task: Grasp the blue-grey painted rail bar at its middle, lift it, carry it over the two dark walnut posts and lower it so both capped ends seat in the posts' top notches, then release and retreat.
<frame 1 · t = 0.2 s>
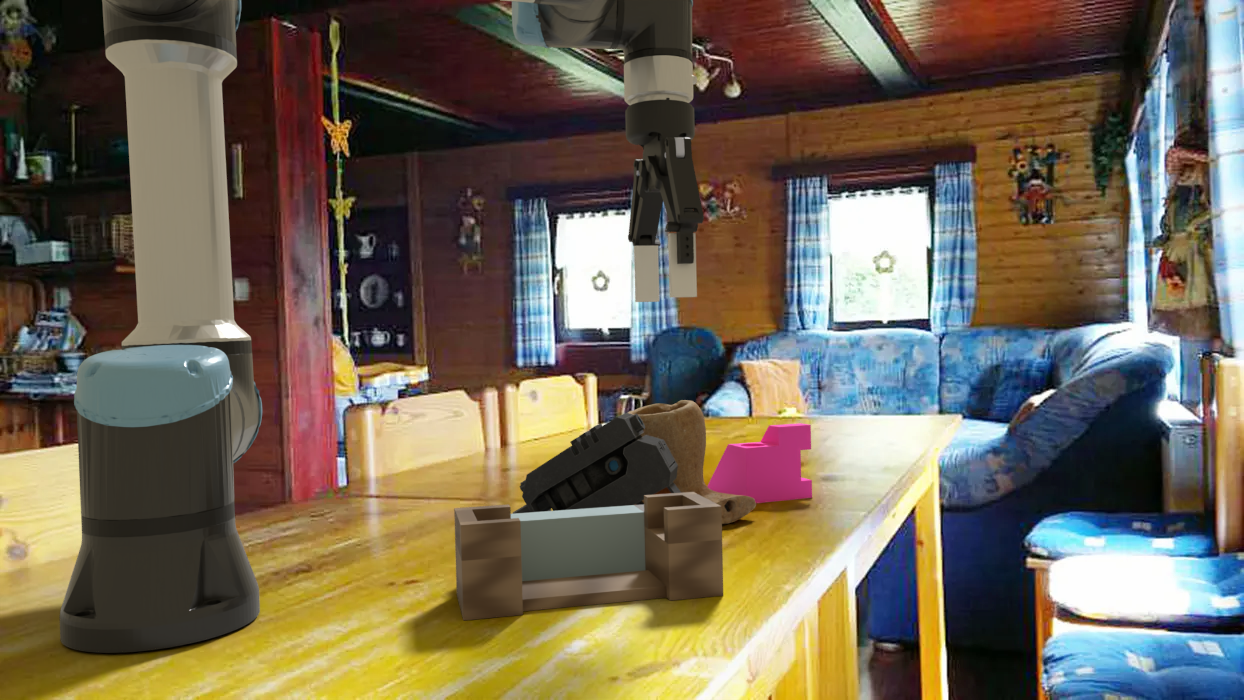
hand: (664, 300, 103), 27 cm above the table, fingers open, 13 cm apart
posts: (588, 595, 85), on the table
brown boot: (681, 522, 118), on the table
bracket: (758, 496, 135), on the table
rail: (571, 573, 93), on the table
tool: (602, 543, 107), on the table
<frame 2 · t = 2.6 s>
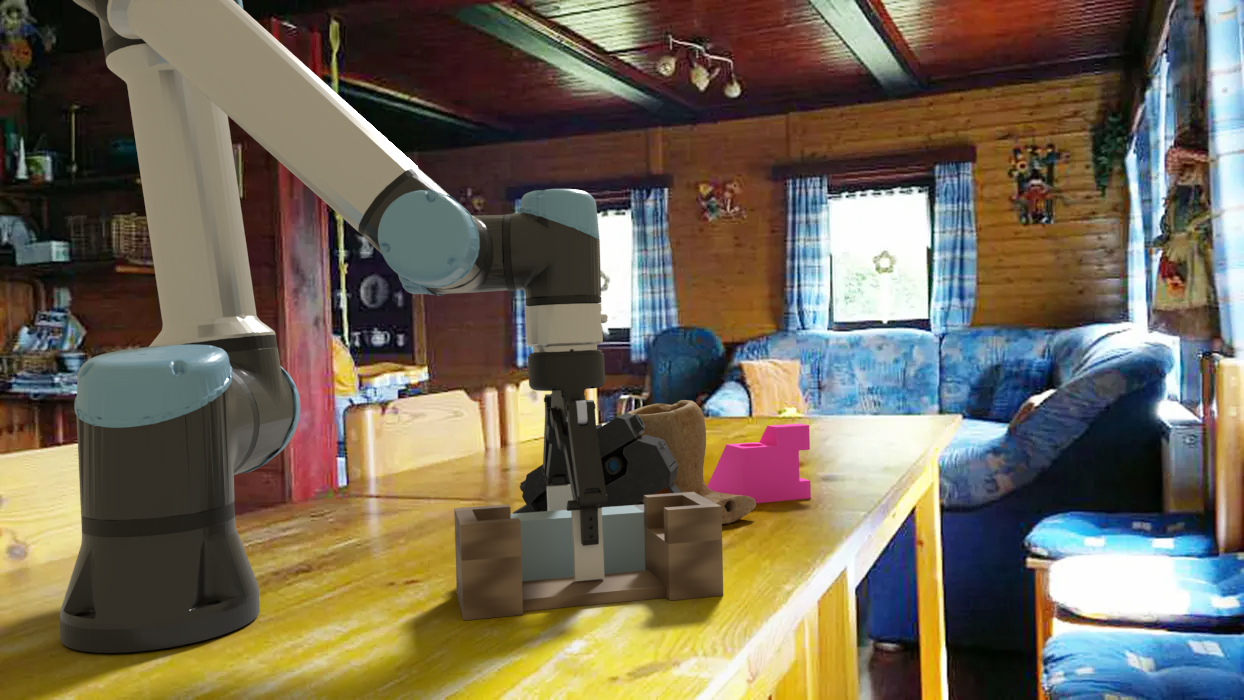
hand: (574, 563, 93), 1 cm above the table, fingers open, 13 cm apart
nothing on the table moved.
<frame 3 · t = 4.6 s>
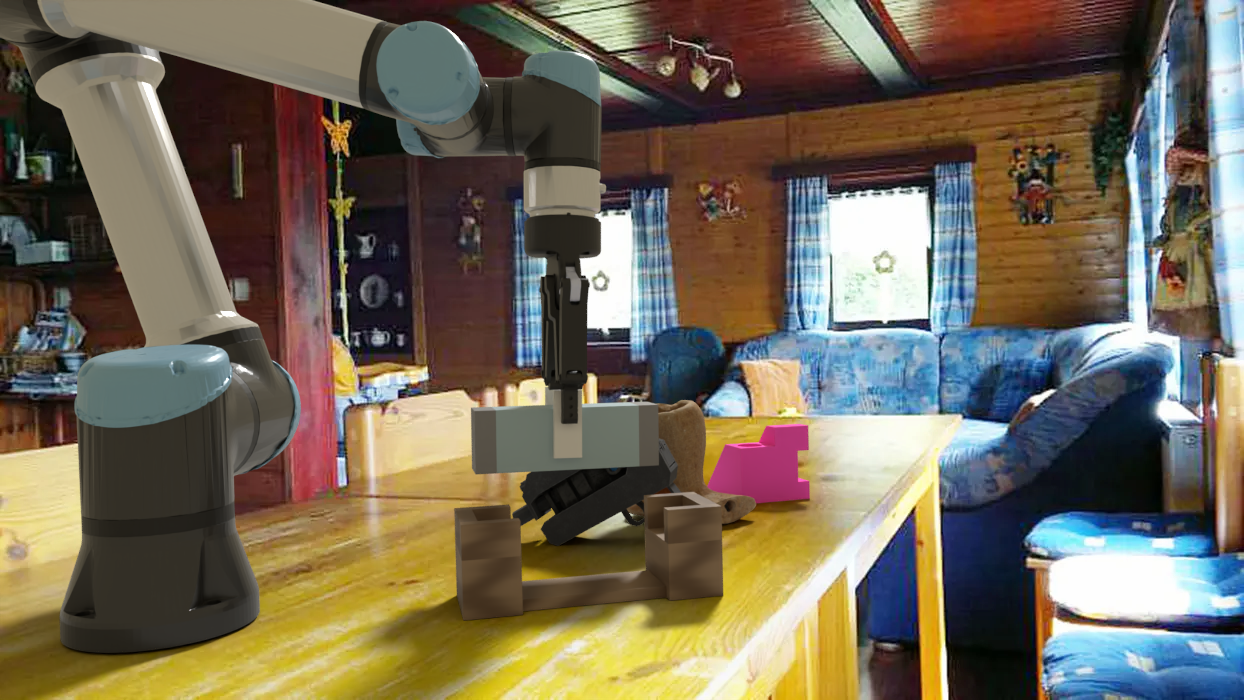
hand: (563, 453, 93), 12 cm above the table, fingers closed on rail, 4 cm apart
rail: (565, 466, 93), point 11 cm above the table, touching gripper
everything else where it was.
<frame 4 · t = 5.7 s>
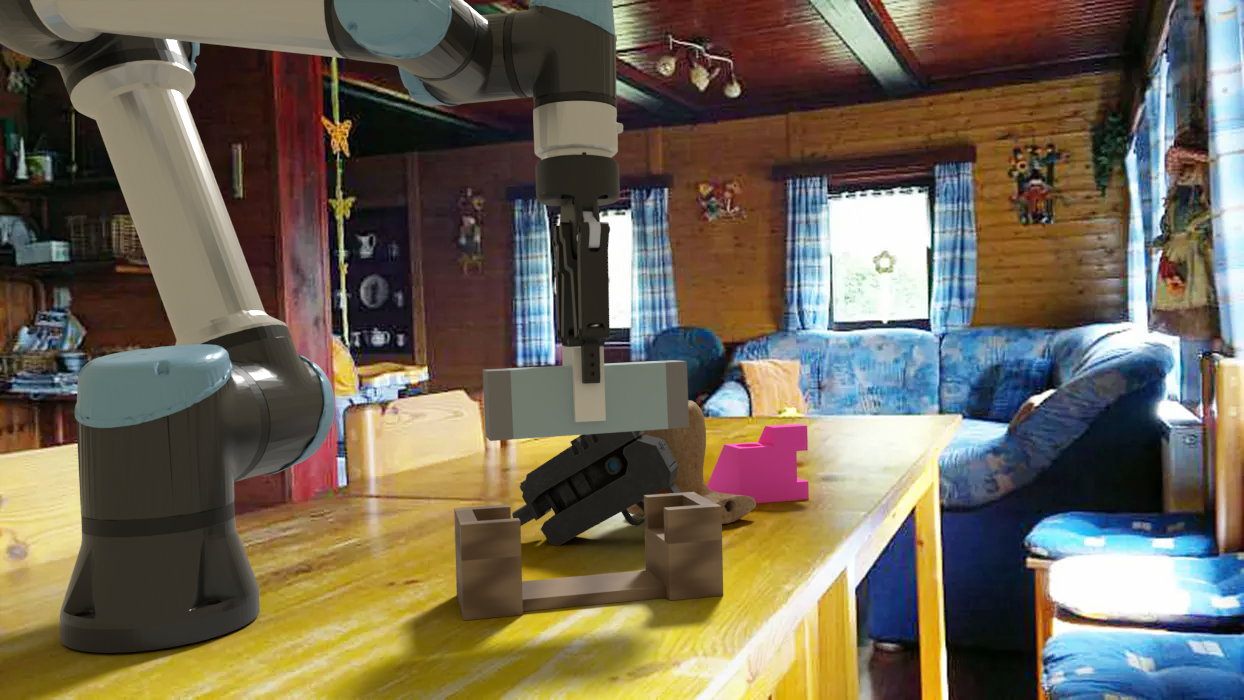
hand: (584, 418, 85), 16 cm above the table, fingers closed on rail, 4 cm apart
rail: (587, 431, 85), point 15 cm above the table, touching gripper
everything else where it was.
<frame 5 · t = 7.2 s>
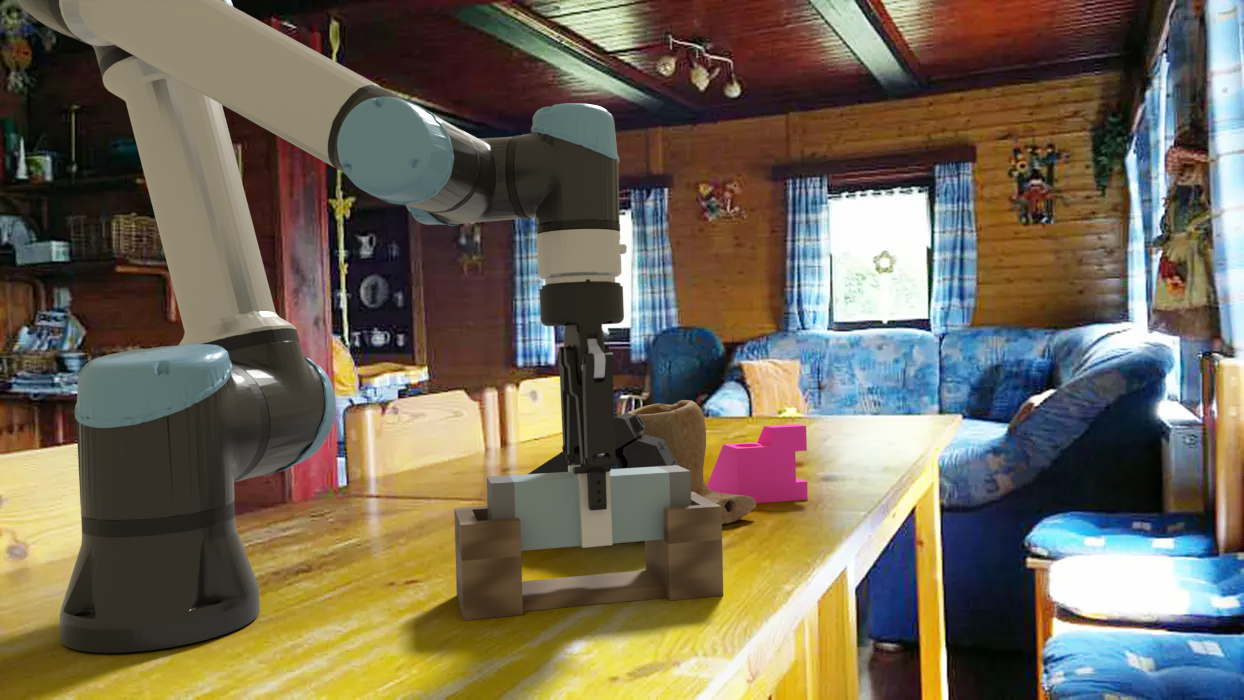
hand: (591, 539, 85), 5 cm above the table, fingers closed on rail, 4 cm apart
rail: (590, 540, 85), point 5 cm above the table, touching gripper, posts
everything else where it was.
when the fingers open (4 cm above the table, at t = 7.5 s): rail stays where it is, resting on posts.
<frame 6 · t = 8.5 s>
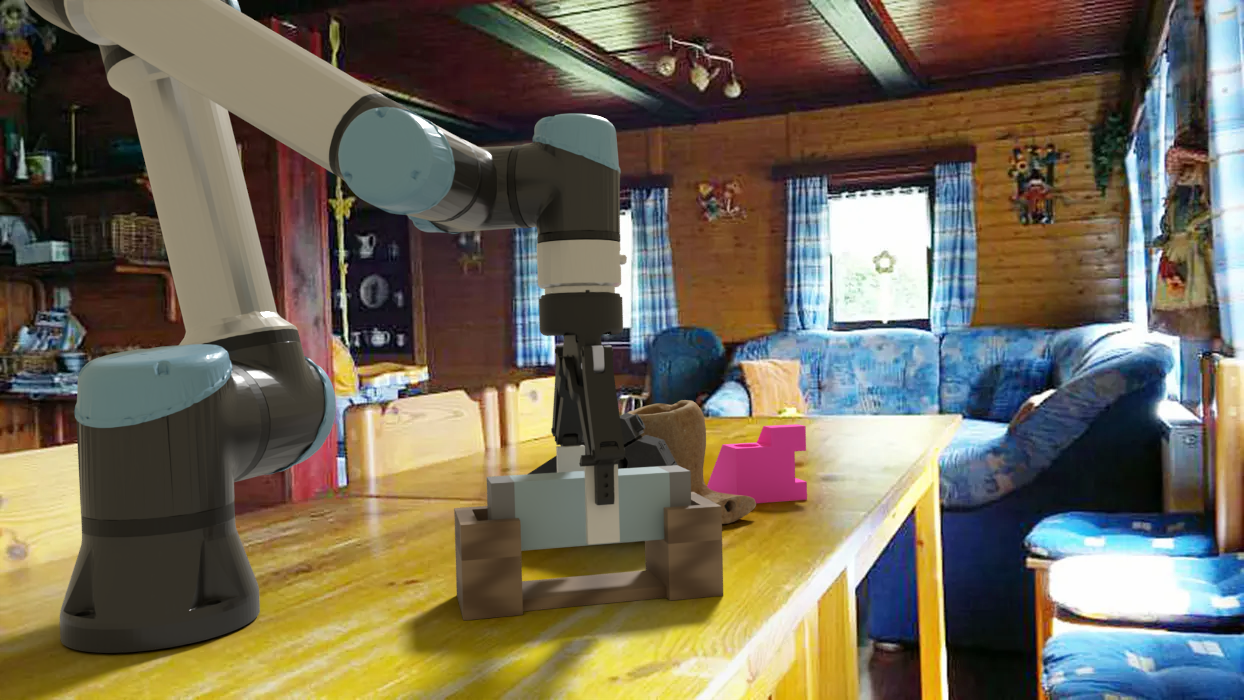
hand: (586, 526, 85), 6 cm above the table, fingers open, 13 cm apart
rail: (590, 540, 85), point 5 cm above the table, touching posts
everything else where it was.
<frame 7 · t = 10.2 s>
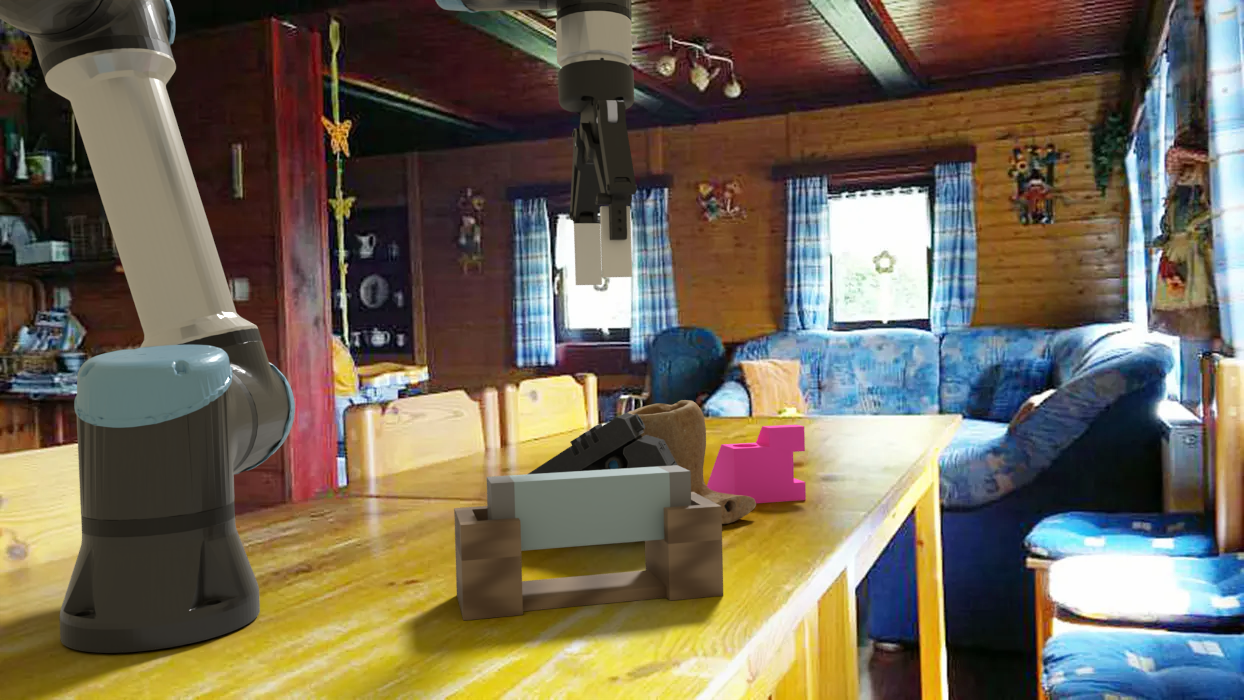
hand: (601, 281, 94), 29 cm above the table, fingers open, 13 cm apart
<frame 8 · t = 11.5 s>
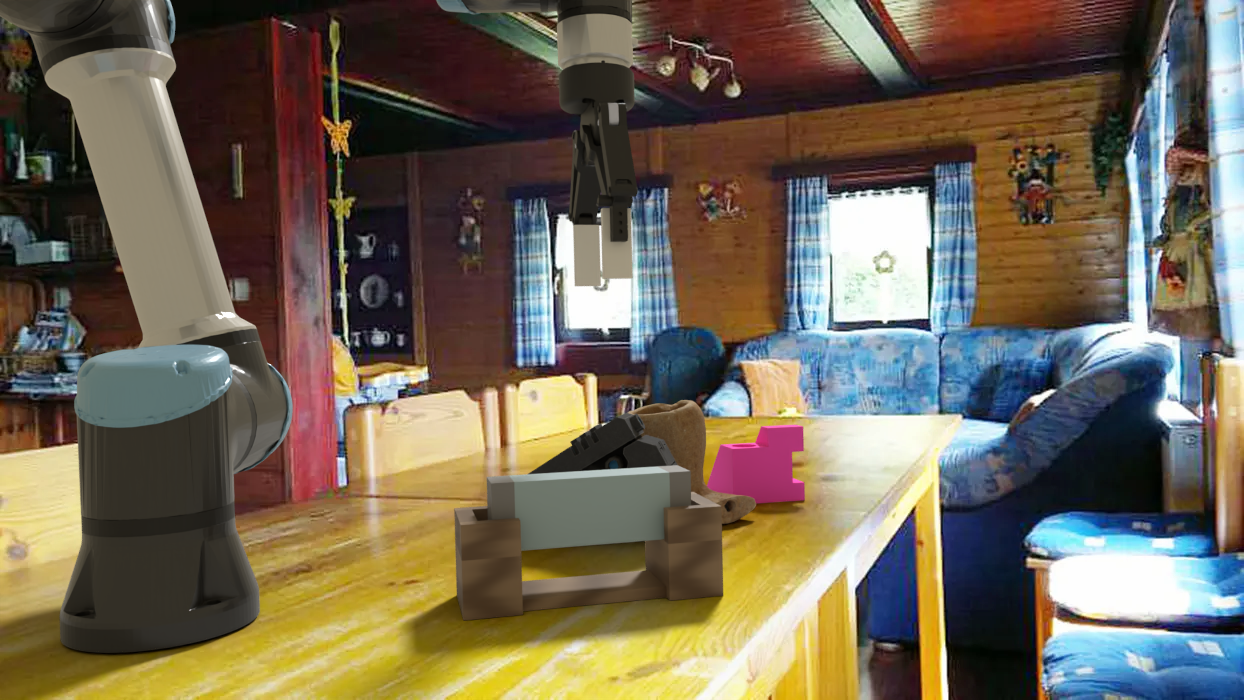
hand: (601, 283, 95), 29 cm above the table, fingers open, 13 cm apart
at the end: rail 0.3 cm off-centre on the posts, point 5.0 cm above the posts's base; rail tilted 0°; the gripper is holding nothing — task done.
